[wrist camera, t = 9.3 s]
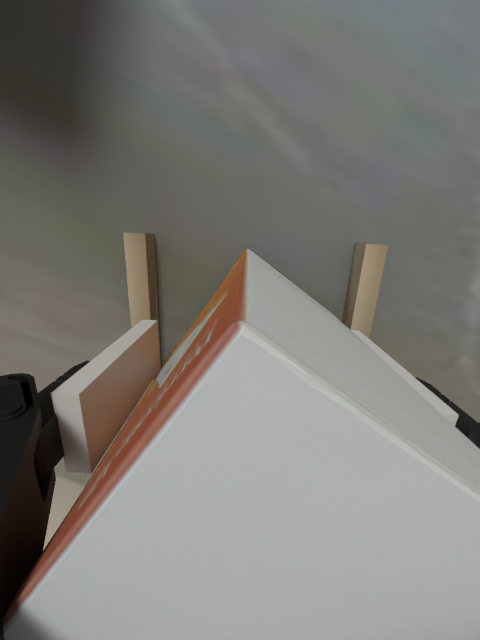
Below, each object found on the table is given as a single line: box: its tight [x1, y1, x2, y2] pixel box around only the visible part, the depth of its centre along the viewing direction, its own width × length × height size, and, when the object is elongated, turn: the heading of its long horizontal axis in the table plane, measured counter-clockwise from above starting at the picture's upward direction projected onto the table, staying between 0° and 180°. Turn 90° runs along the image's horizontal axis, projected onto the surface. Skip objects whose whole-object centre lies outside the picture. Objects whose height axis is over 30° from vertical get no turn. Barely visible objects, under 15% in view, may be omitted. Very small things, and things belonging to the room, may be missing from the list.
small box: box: [3, 249, 480, 640], centre depth 10 cm, size 8×6×13 cm
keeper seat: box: [113, 233, 389, 443], centre depth 15 cm, size 14×13×5 cm
